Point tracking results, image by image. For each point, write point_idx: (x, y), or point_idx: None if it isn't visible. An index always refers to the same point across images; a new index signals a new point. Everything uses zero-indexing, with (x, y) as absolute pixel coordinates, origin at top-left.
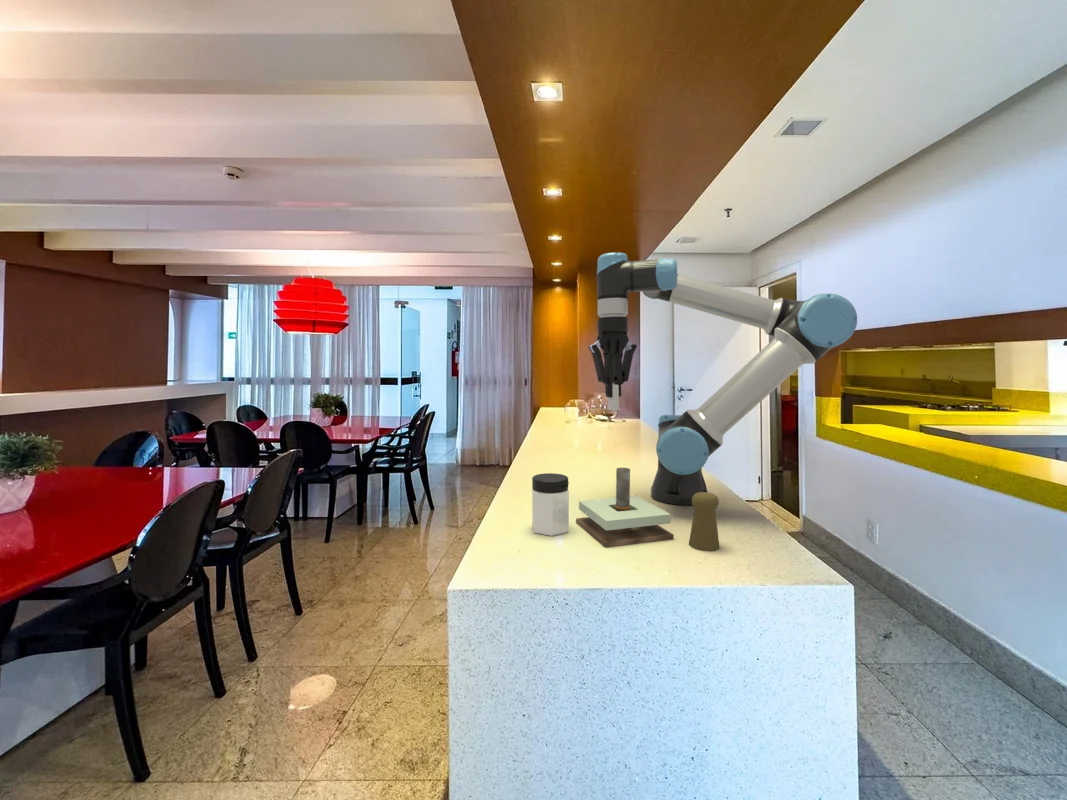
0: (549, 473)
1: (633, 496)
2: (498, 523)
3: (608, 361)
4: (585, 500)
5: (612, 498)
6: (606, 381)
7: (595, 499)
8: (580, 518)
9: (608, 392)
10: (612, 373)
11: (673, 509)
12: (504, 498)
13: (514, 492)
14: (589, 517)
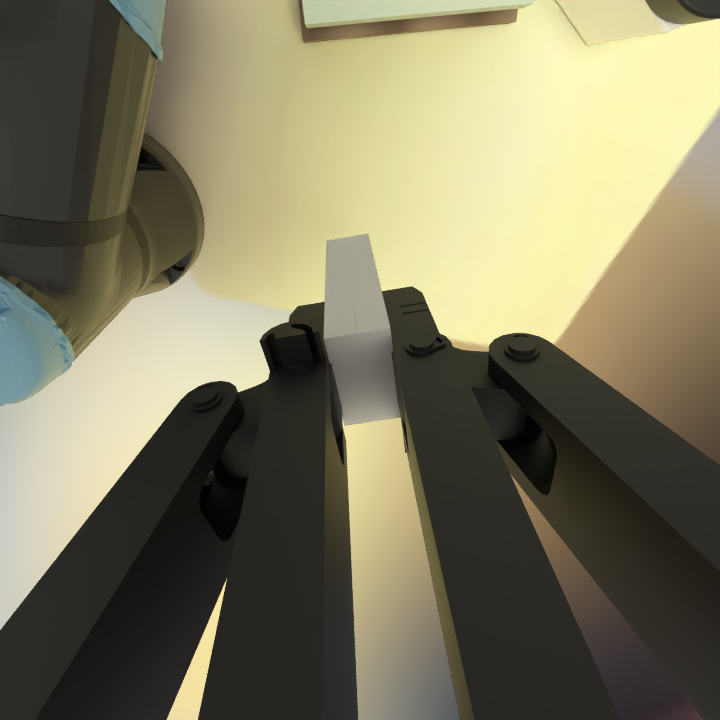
0: (704, 8)
1: (319, 13)
2: (713, 79)
3: (579, 640)
4: (509, 2)
5: (405, 5)
6: (476, 363)
7: (469, 7)
8: (503, 16)
9: (424, 304)
10: (422, 424)
11: (165, 90)
12: (581, 299)
13: None
14: (472, 19)
